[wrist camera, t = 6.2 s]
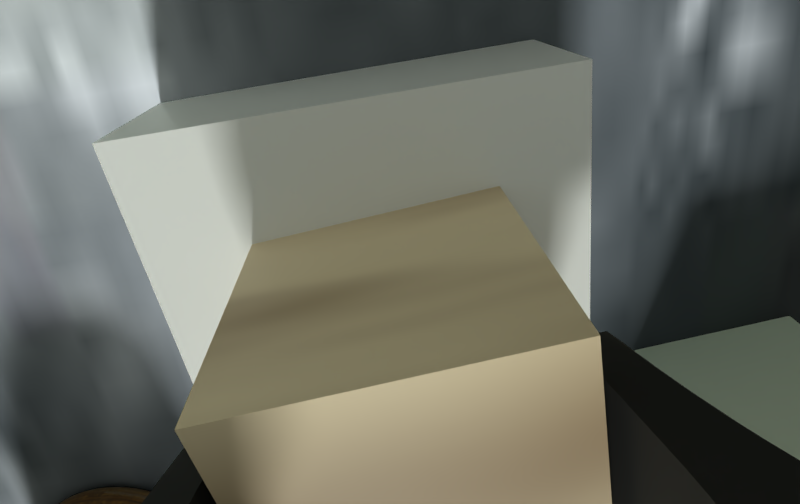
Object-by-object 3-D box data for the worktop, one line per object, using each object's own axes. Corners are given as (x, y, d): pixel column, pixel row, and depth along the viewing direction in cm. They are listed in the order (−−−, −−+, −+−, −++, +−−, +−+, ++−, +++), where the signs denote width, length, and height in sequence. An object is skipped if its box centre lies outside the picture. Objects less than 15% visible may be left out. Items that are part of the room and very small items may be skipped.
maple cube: (528, 379, 13) (618, 594, 8) (324, 425, 13) (304, 656, 9) (499, 185, 10) (600, 335, 6) (252, 243, 11) (174, 430, 6)
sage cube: (773, 427, 19) (897, 562, 15) (635, 457, 20) (716, 598, 15) (787, 314, 17) (938, 432, 13) (630, 349, 17) (724, 477, 13)
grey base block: (541, 338, 17) (588, 431, 14) (263, 383, 17) (237, 487, 14) (529, 37, 13) (592, 58, 10) (165, 99, 13) (91, 143, 10)
